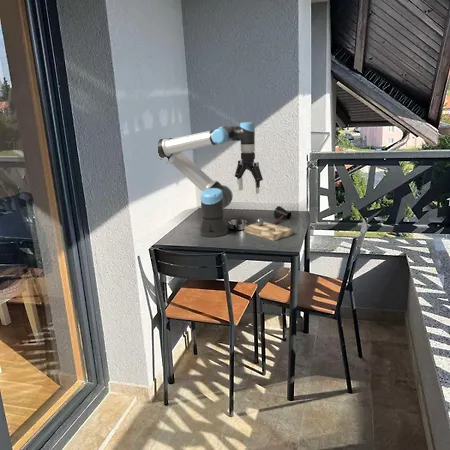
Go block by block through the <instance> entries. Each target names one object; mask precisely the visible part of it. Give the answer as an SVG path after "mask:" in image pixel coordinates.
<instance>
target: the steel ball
mask: <svg viewBox="0 0 450 450" xmlns="http://www.w3.org/2000/svg"><path fill="white" fill-rule="evenodd" d="M264 222H265V221H264V219H263V218H257V219H256V222H255V223H257V225H259V226H261V225H263V223H264Z"/></svg>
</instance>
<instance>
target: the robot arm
mask: <svg viewBox="0 0 450 450" xmlns="http://www.w3.org/2000/svg"><path fill="white" fill-rule="evenodd" d="M255 137H256V130H255V123H254V122H251V121H245V122H242V121H241V122H240V123H239V125H238V126H229V125H228V126H227V125H224V126H219V127H218V128H216V129H212V130H206V131H203V132H198V133H192V134H188V135H183V136H179V137H178V136H177V137H173V138H169V139H167V138H164V139H160V140H159V142H158V153H159V156H160V157H161V158H164V157H167V158H168V162H169V163H170V164H169V165H173V166H174V167H175V168H176V169H177V170H178V171H179V172H180V173H181V174H182V175H184V176H185V177H186V178H187V179H188V180H189V181H190V182H191V183H192V184H193V185H194V186H195V187H197V188H198V189H199V190H200V191H201V192H200V207H201V209H200V210H201V211H200V212H201V222H200V227H199V230H198V231H199V236H202V237H206V238H217V237H222V236H225V235H227V234H228V226H227V224H226V222H225V219H224V209H225V208H226V207H228V206H230V204H231V203H232V201H233V196H234V195H233V192H232V190H231V188H230V187H229V186H227V185H223V184H222V183H220V182H219V181H218V180H213V179H212V178H211V177H210V176H209V175H207V173H205V172H204V171H203V169H201V168H200V167H199V166H198V165H197V164H196V163H195V162H193V161H192V160H191V159H190V158H189V157H187V155H186V154H184V153H183V152H186V151H191V150H195V149H196V150H197V149H201V148H206V147H211V146H215V145H222V144H225V143H229V142H240V152H241V153H240V160H238V161H237V166H236V169H235V173H234V178H236V179H237V187H238V189H237V190H238V191H243V190H244V186H243V185H244V183H243V182H244V181H243V176H244V174H245V172H246V171H249V172H250V173H251V175H252V177H253V178H254V182H253V183H254V185H253V186H254V194H255V195H257V194H260V186H261V181H263V180H264V179H263V175H262V172H261V169H260V165H259V162H257V161H255V159H256V148H255V146H256V145H255V143H256V141H255V139H256V138H255Z"/></svg>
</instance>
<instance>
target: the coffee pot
mask: <svg viewBox="0 0 450 450" xmlns="http://www.w3.org/2000/svg"><path fill="white" fill-rule="evenodd" d="M273 217H274V218H275V219H276V220H274V221H271V223H272V224H275V225H277V224H278V223H280V220H282V219H285V220H287V221H288V220H290V219H291V218H292V212H291V211H288V210H287V209H285V208H284V207H282V206H280V205H279V206H276V208H274V211H273Z"/></svg>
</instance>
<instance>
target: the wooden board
mask: <svg viewBox="0 0 450 450" xmlns="http://www.w3.org/2000/svg"><path fill="white" fill-rule="evenodd" d="M243 227H244V228H243V231H244V233H246V234H251V235H252V236H258V237H260V238H263V239H267V240H271V241H278V240H280V239H283V238H287V237H289V236H292V235H293V228H289V227H286V226H283V225H277V224H273V223H272V222H268V221H264V223H263V225H261V226H259V225H257V223H256V222H254V223H252V224H249V225H244V226H243Z"/></svg>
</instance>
